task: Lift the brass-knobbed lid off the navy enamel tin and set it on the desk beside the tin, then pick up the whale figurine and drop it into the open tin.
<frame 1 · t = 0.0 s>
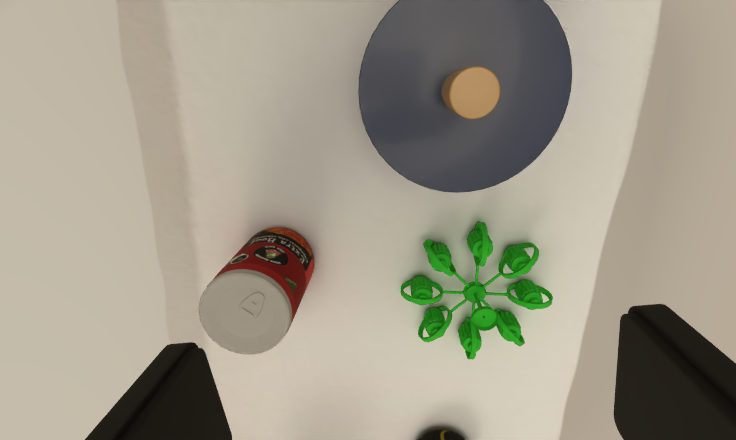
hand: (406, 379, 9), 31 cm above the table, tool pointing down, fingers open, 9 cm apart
canned food: (280, 258, 43), on the table
tin lid: (461, 91, 28), point 8 cm above the table, touching tin
chandelier: (470, 282, 43), on the table
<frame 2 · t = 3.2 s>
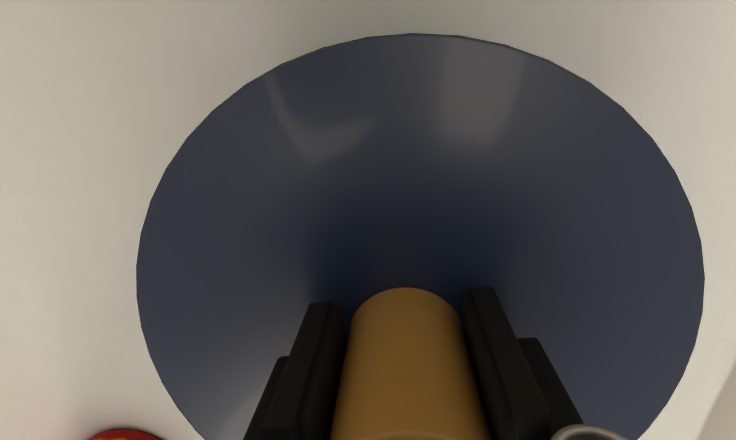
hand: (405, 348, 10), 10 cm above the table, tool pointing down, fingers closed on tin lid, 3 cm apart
tin lid: (405, 325, 11), point 9 cm above the table, touching gripper, tin
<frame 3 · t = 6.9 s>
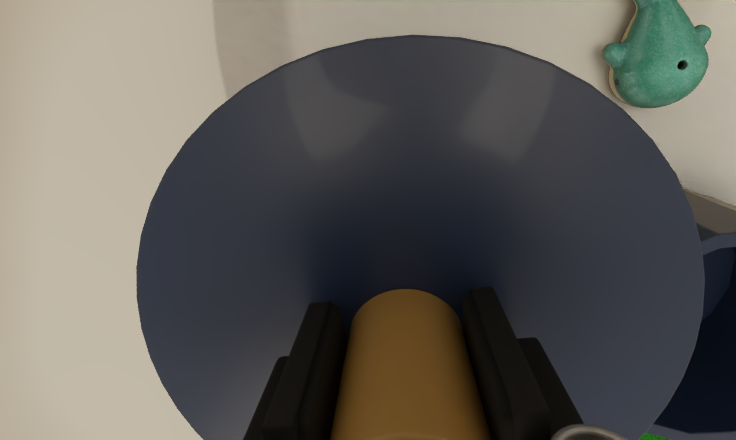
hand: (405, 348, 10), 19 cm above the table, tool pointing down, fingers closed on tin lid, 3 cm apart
whale figurine: (640, 44, 25), on the table
tin lid: (405, 326, 11), point 18 cm above the table, touching gripper
tin: (638, 275, 30), on the table
when the fingers open (2 cm above the table, at t = 10.9 s): tin lid stays where it is, point 1 cm above the table.
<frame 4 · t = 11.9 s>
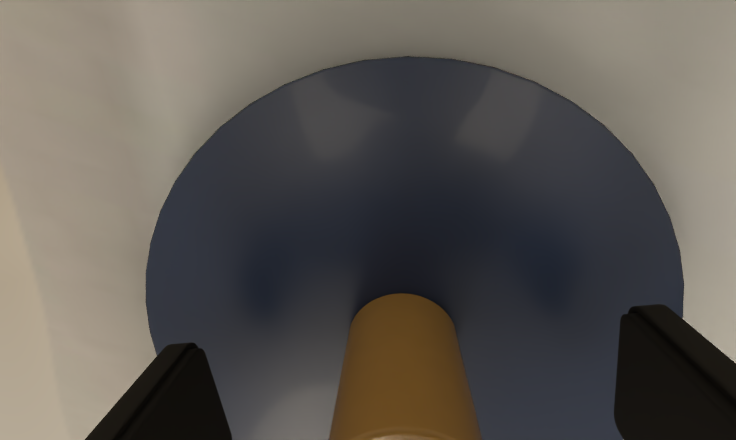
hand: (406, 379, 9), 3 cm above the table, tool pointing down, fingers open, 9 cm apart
tin lid: (401, 329, 12), point 1 cm above the table
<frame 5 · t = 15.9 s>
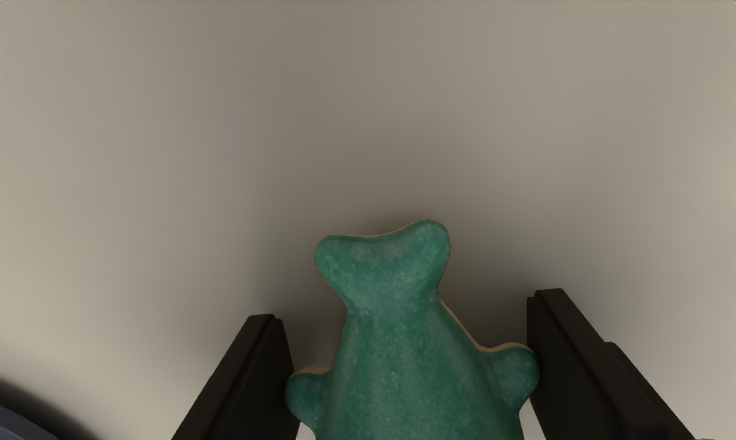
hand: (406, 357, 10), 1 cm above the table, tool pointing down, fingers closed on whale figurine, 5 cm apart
whale figurine: (405, 337, 10), on the table, touching gripper
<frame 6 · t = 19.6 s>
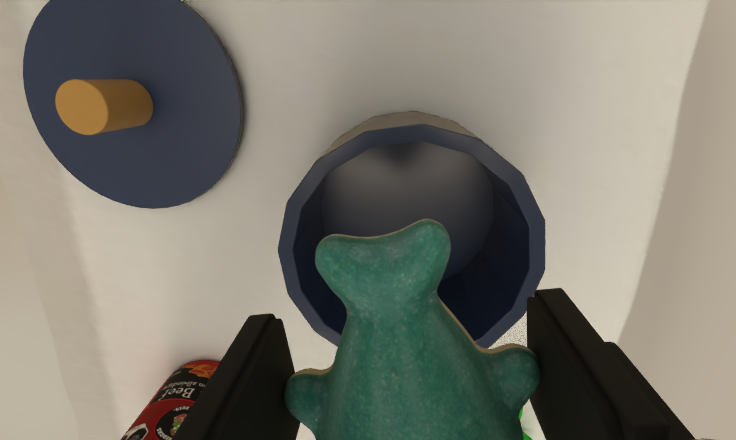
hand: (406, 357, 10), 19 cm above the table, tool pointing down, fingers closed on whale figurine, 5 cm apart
canned food: (211, 391, 36), on the table
whale figurine: (406, 338, 10), point 19 cm above the table, touching gripper
tin lid: (136, 102, 27), point 1 cm above the table
tin: (405, 209, 29), on the table
when the fingers open (6 cm above the table, at t = 23.4 s): whale figurine drops 5 cm, resting on tin.
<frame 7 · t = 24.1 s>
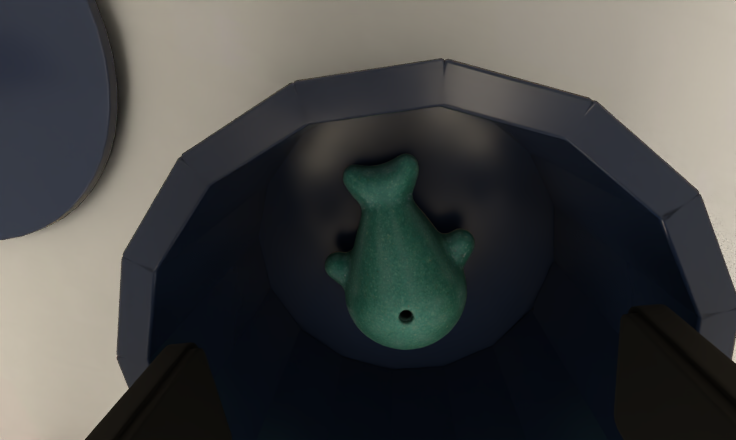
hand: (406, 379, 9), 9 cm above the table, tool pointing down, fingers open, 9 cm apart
whale figurine: (397, 238, 17), resting on tin
tin: (403, 243, 17), on the table
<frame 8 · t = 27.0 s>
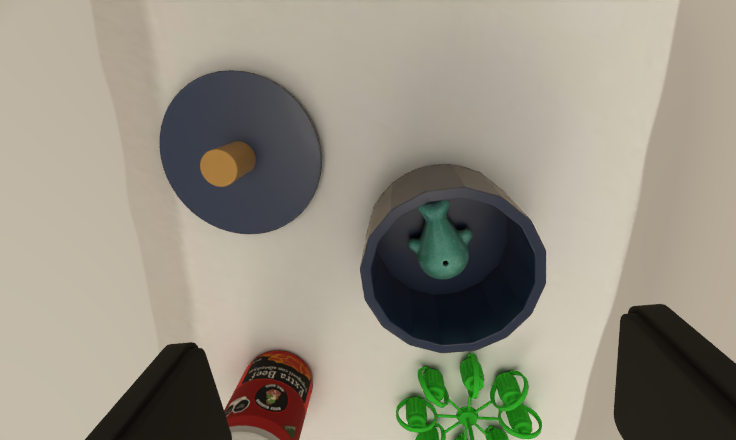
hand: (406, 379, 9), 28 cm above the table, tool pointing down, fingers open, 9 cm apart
canned food: (280, 376, 45), on the table
whale figurine: (438, 232, 38), resting on tin
tin lid: (241, 156, 36), point 1 cm above the table
tin: (440, 235, 38), on the table
chandelier: (464, 400, 44), on the table
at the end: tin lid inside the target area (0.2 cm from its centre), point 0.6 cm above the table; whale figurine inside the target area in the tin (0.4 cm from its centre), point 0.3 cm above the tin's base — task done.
